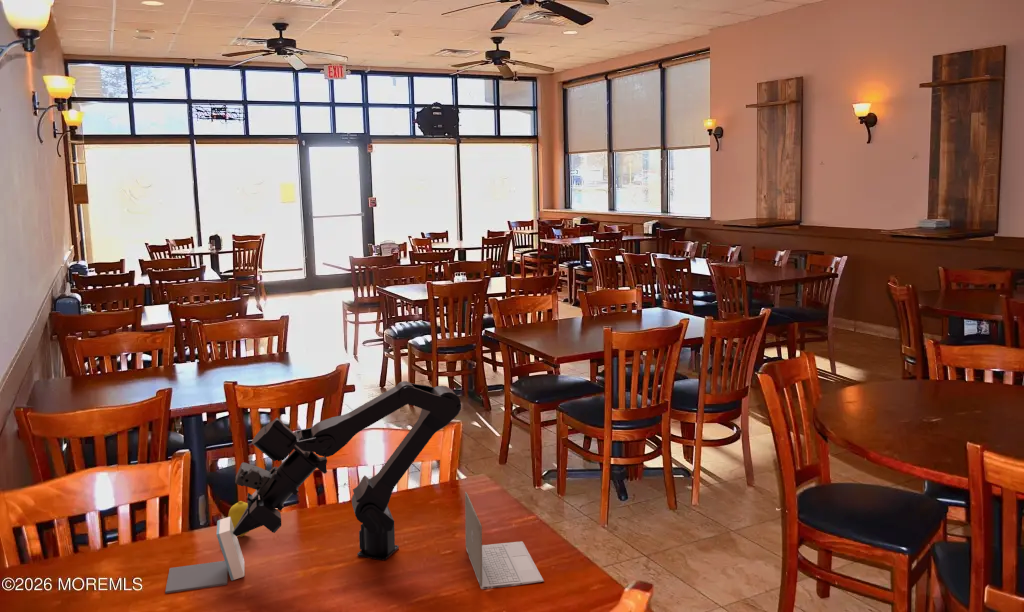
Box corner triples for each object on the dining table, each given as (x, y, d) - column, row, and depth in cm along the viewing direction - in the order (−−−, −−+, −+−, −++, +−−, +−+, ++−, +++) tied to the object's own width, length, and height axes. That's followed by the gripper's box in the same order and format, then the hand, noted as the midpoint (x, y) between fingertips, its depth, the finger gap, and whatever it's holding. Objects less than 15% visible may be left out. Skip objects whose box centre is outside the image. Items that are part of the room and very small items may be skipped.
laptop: (544, 584, 158) (544, 520, 157) (480, 591, 156) (479, 526, 154) (522, 544, 176) (522, 486, 174) (465, 550, 173) (464, 491, 171)
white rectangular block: (244, 560, 167) (230, 516, 164) (244, 576, 160) (229, 530, 158) (231, 564, 166) (217, 520, 164) (231, 580, 159) (216, 534, 157)
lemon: (260, 532, 181) (258, 498, 180) (244, 543, 176) (242, 507, 175) (239, 529, 183) (237, 495, 182) (223, 539, 178) (221, 504, 176)
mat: (228, 562, 167) (228, 560, 167) (227, 584, 158) (227, 582, 158) (169, 569, 164) (169, 568, 164) (165, 593, 154) (165, 591, 154)
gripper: (258, 436, 170) (204, 492, 168) (260, 465, 152) (200, 529, 150) (299, 468, 173) (246, 524, 172) (305, 501, 156) (246, 563, 154)
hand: (234, 534), depth 162 cm, fingers closed
